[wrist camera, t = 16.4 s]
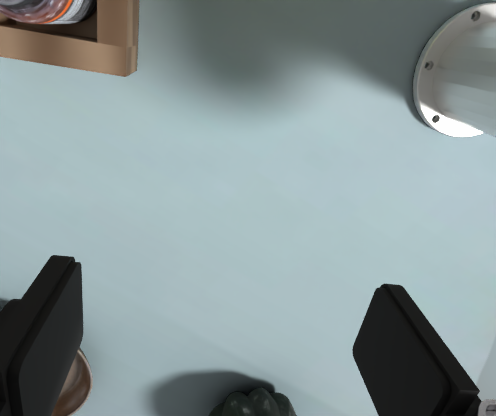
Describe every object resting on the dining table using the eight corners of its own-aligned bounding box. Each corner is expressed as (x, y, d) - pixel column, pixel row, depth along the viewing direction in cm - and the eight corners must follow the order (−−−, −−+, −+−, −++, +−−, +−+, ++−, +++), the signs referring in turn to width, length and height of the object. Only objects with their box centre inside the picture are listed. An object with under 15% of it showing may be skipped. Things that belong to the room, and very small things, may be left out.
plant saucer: (114, 399, 54) (108, 420, 51) (-31, 417, 53) (-45, 441, 50) (74, 288, 45) (65, 306, 42) (-101, 308, 44) (-124, 328, 41)
